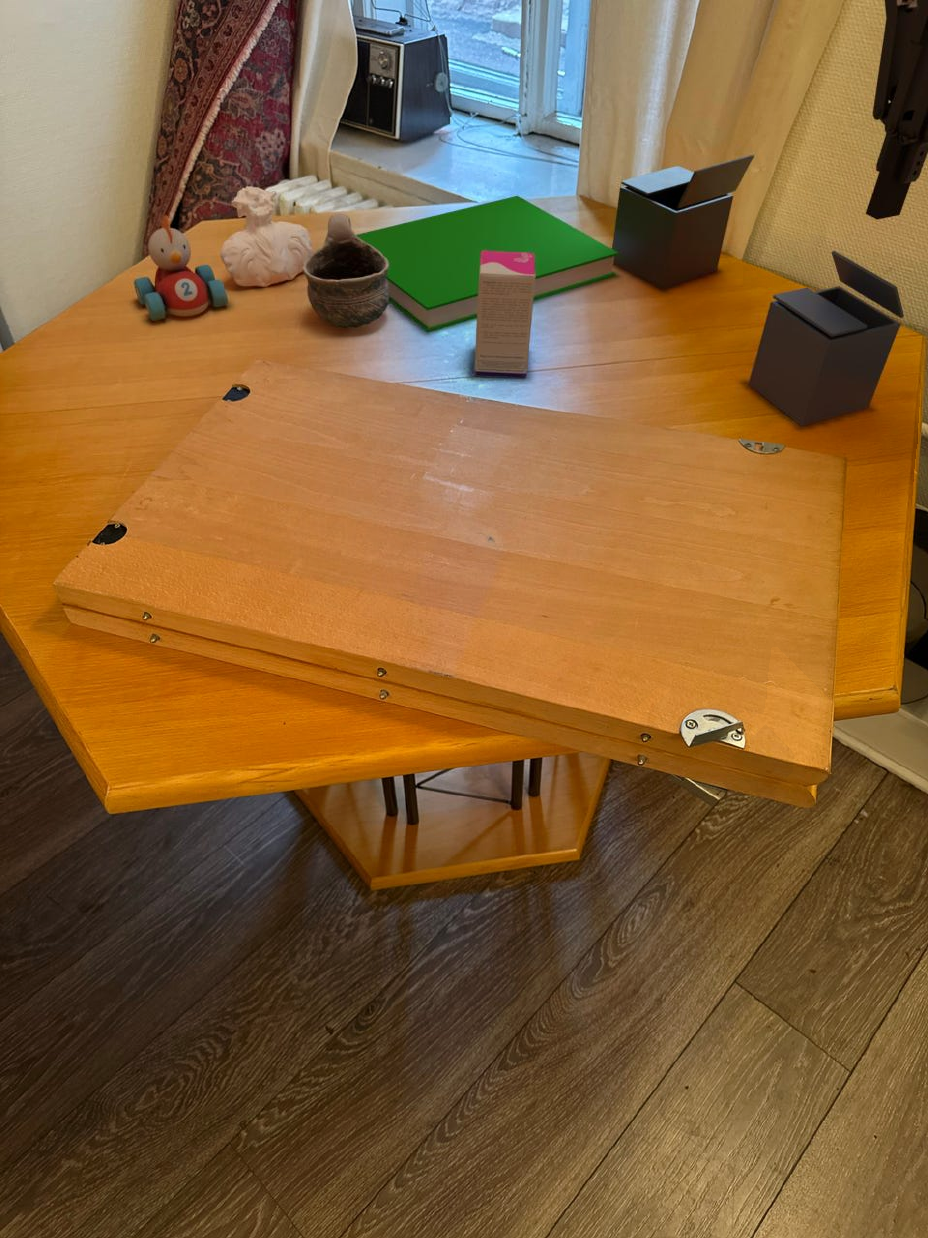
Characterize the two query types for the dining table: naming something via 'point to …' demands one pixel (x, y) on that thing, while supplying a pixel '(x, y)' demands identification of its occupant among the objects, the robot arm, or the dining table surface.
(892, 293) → the front flap
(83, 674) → the dining table surface
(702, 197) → the back flap
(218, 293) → the toy car
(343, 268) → the mug
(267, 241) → the bust
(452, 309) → the book
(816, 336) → the front carton
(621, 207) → the back carton
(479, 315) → the supplement box
